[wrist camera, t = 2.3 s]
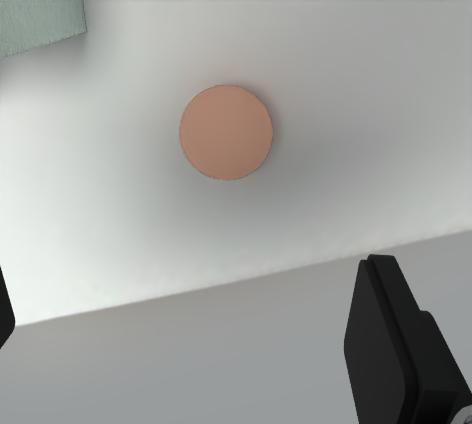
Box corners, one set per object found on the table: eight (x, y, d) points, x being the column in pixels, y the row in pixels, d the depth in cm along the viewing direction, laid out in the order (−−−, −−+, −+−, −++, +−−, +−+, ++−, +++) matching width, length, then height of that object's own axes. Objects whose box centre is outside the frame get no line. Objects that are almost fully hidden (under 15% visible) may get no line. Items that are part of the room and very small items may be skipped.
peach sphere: (275, 78, 21) (276, 101, 17) (269, 161, 23) (269, 198, 19) (186, 74, 21) (167, 96, 17) (189, 157, 23) (172, 193, 19)
